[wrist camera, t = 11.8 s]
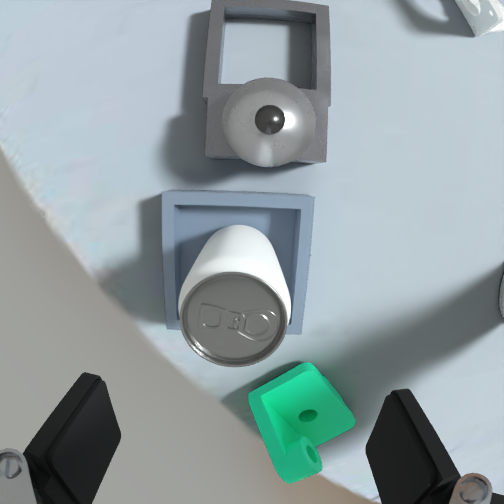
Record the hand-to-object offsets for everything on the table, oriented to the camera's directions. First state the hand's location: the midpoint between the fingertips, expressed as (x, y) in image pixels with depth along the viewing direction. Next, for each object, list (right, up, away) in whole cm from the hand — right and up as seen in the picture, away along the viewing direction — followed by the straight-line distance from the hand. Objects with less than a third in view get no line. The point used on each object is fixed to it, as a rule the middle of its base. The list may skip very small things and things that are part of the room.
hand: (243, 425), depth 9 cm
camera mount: (+6, -12, +24) cm, 28 cm away
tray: (-1, +5, +19) cm, 20 cm away
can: (-1, +5, +19) cm, 19 cm away
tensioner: (+2, +21, +15) cm, 25 cm away
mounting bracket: (+27, +38, +11) cm, 48 cm away
